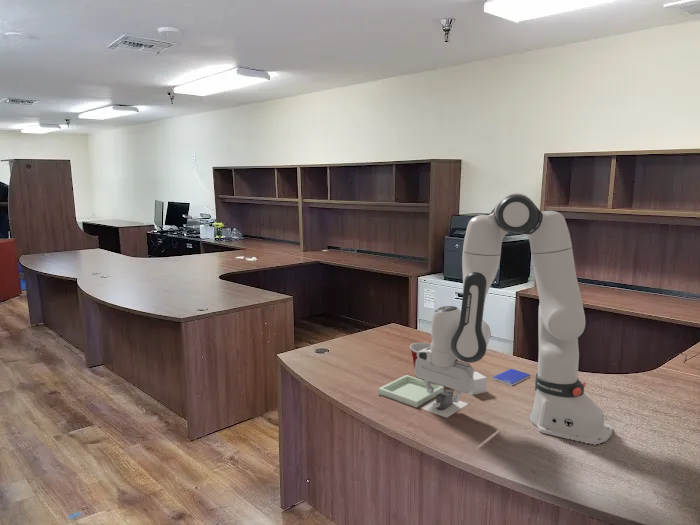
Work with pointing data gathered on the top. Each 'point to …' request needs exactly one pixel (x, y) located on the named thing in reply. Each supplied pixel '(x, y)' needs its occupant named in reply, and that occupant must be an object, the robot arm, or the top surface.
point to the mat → (447, 411)
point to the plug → (444, 400)
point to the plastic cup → (416, 348)
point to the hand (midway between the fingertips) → (442, 397)
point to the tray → (409, 391)
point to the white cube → (479, 384)
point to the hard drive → (511, 377)
